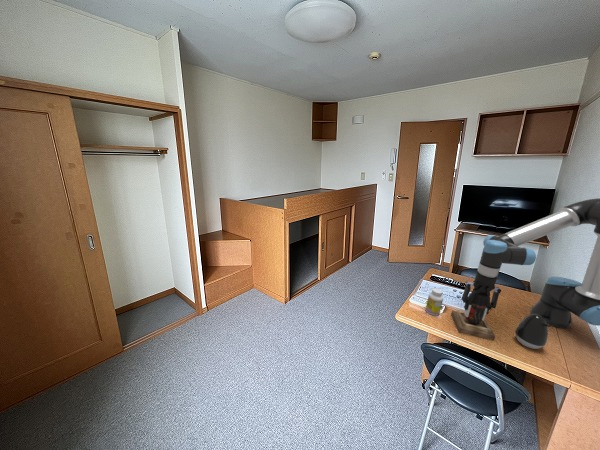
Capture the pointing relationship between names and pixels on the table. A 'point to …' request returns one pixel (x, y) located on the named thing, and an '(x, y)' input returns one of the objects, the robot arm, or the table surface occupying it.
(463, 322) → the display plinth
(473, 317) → the deodorant
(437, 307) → the supplement bottle
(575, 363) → the table surface
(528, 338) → the black rounded dome
